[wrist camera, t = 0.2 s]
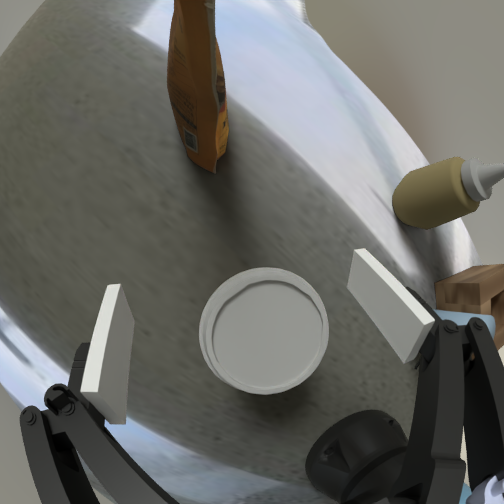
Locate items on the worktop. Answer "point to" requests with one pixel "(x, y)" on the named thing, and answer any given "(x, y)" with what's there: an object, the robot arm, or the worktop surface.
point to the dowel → (467, 319)
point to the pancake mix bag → (197, 82)
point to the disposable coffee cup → (264, 331)
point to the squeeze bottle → (444, 191)
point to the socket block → (475, 295)
